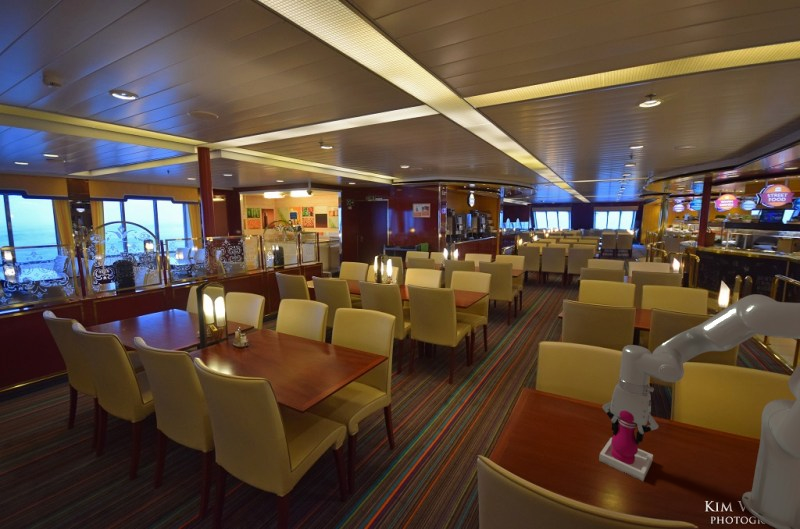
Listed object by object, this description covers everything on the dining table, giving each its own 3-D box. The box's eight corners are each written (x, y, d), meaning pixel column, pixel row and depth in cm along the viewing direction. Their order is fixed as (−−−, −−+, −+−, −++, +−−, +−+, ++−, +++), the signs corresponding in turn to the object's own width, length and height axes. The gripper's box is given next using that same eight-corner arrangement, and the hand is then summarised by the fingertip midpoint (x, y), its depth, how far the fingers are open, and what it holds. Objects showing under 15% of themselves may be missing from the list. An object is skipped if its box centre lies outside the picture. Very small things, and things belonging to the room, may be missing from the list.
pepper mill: (604, 453, 114) (611, 397, 111) (618, 447, 117) (626, 392, 114) (626, 468, 107) (635, 409, 104) (641, 461, 110) (649, 404, 107)
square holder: (652, 461, 111) (653, 454, 111) (643, 481, 103) (644, 473, 103) (610, 443, 120) (611, 437, 120) (599, 460, 112) (599, 453, 111)
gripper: (669, 391, 104) (661, 445, 107) (606, 372, 117) (600, 421, 119) (664, 400, 99) (656, 457, 102) (598, 379, 111) (593, 430, 114)
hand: (626, 437), depth 111 cm, fingers open, 5 cm apart
